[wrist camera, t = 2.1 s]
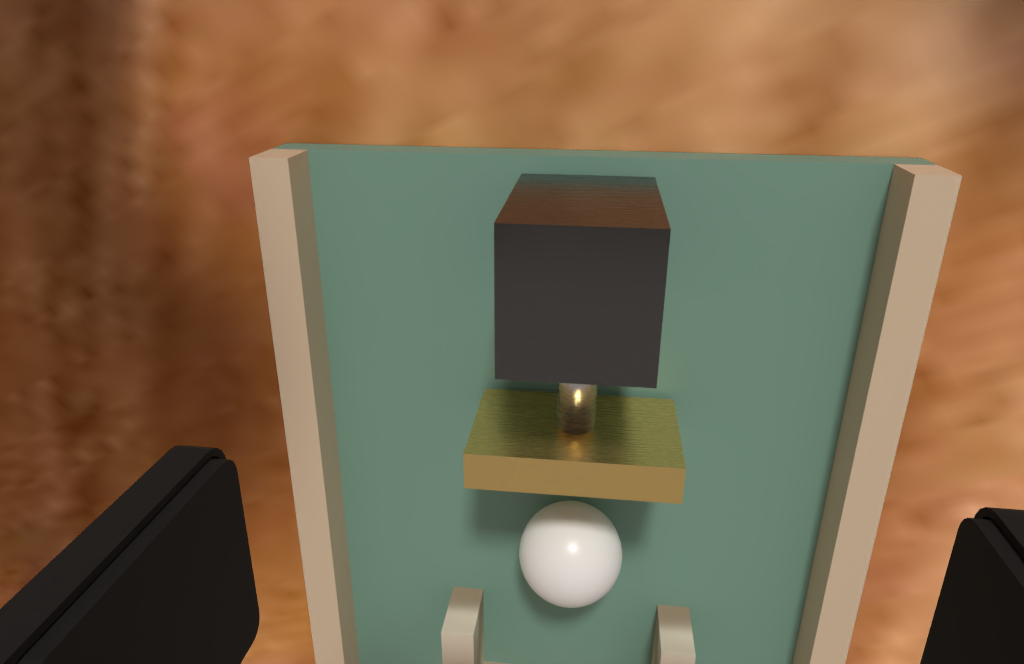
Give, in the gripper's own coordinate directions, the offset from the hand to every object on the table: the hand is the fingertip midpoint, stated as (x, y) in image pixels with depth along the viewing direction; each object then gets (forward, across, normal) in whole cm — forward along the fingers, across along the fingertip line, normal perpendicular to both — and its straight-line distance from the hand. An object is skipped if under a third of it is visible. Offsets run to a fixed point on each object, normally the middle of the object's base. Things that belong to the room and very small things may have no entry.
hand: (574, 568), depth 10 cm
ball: (+13, 0, +10) cm, 17 cm away
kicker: (+15, 0, +2) cm, 15 cm away
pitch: (+16, 0, +8) cm, 18 cm away
